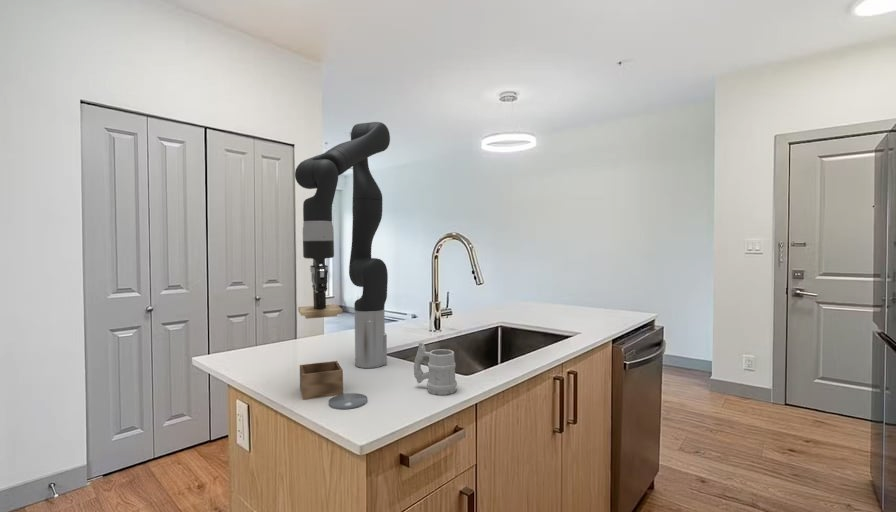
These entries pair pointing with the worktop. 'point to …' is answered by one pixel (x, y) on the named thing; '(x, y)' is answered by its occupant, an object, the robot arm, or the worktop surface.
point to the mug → (437, 370)
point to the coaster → (348, 401)
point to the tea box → (321, 379)
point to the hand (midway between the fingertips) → (320, 306)
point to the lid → (319, 310)
